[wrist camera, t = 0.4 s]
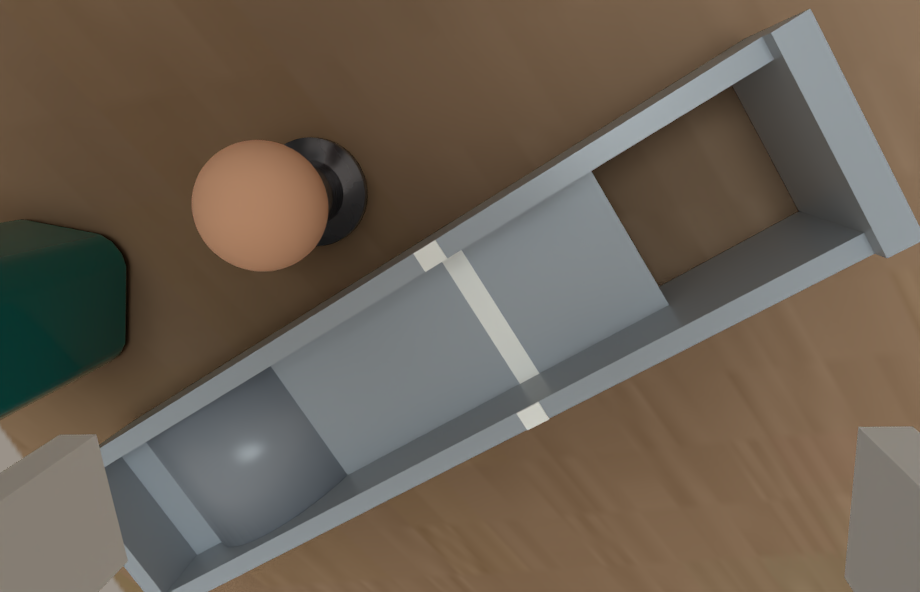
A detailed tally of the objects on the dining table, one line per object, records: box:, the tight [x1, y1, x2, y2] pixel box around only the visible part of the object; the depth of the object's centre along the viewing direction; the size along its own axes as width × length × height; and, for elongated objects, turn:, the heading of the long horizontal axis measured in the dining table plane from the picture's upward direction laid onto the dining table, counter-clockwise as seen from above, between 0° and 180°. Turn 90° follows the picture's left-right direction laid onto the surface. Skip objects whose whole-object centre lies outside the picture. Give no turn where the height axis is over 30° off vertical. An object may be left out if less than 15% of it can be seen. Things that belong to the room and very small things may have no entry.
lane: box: [99, 9, 920, 592], centre depth 36 cm, size 10×42×14 cm, turn 122°
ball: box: [192, 140, 328, 272], centre depth 29 cm, size 6×6×6 cm
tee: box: [285, 137, 367, 246], centre depth 34 cm, size 6×6×4 cm
